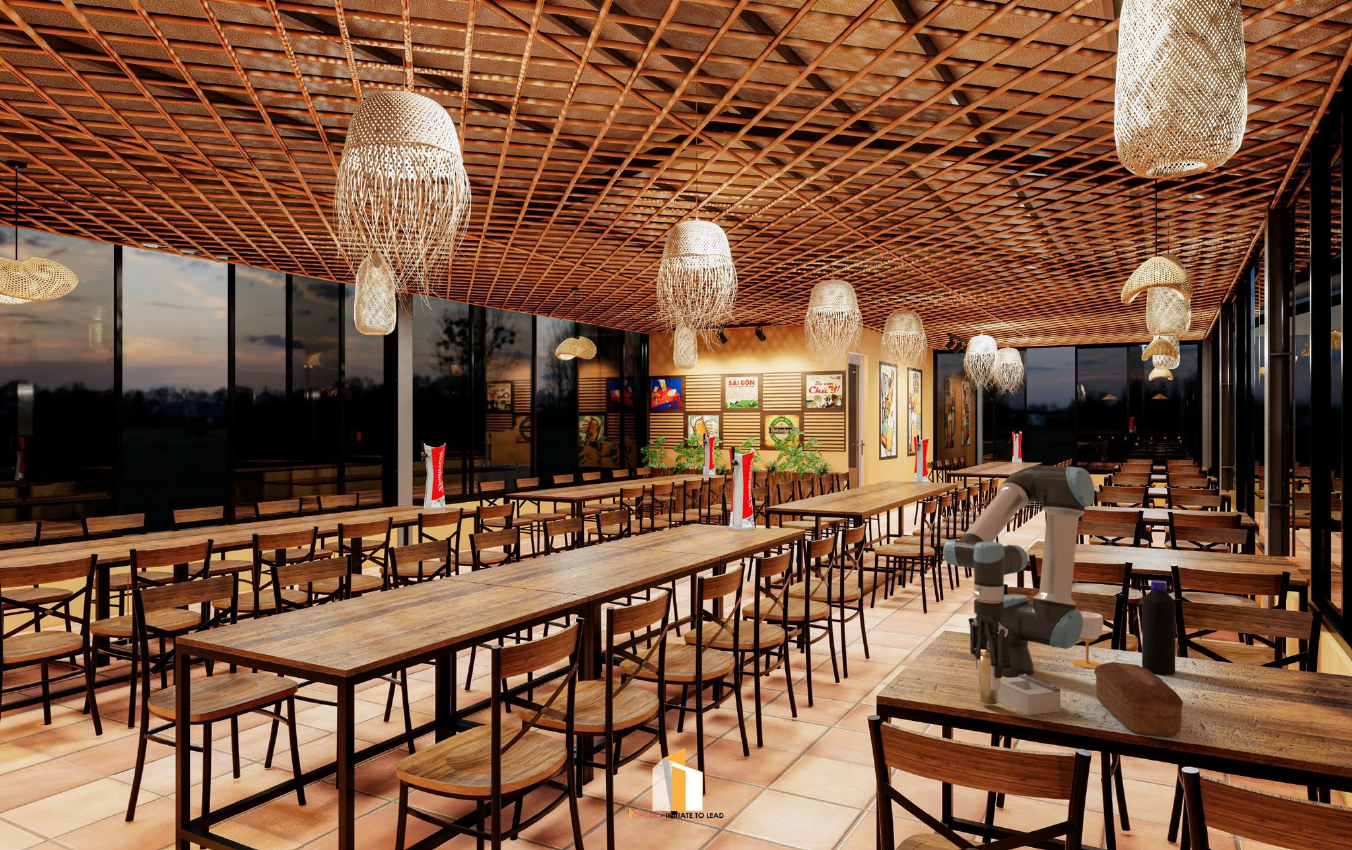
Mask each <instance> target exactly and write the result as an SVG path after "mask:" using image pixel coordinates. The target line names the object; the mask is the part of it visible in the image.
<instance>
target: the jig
mask: <svg viewBox="0 0 1352 850" xmlns="http://www.w3.org/2000/svg"><path fill="white" fill-rule="evenodd" d="M998 703H1000V704H1002V705H1004V706H1007V707H1008V706H1009V707H1008V708H1011V709H1012V710H1015V711H1017V710H1018V711H1017V712H1019V711H1020V712H1019V713H1021V712H1022V714H1023V713H1025V714H1026V716H1028V715H1029V716H1035V714H1036V715H1043V713H1044V714H1050V713H1057V712H1061V688H1059V687H1056V686H1055V685H1053V684H1049V683H1046V682H1045V681H1043V680H1040V679H1037V678H1035V677H1032V676H1028V675H1026V674H1022V675H1019V677H1006V678H1001V689H998ZM1041 713H1042V714H1041ZM1025 714H1024V715H1025ZM1032 714H1033V715H1032Z"/></svg>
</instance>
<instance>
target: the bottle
mask: <svg viewBox="0 0 1352 850" xmlns="http://www.w3.org/2000/svg"><path fill="white" fill-rule="evenodd" d="M1167 586H1168V585H1167V582H1166V581H1163V580H1151V581H1150V591H1149V592H1148V593H1147V594H1146V595H1144V596H1143V597H1142V600H1141V601H1142V606H1141V607H1142V609H1141V610H1142V612H1141V613H1142V614H1141V615H1142V617H1141V618H1142V619H1141V622H1142V625H1141V627H1142V628H1141V630H1142V631H1141V632H1142V633H1141V635H1142V636H1141V637H1142V640H1141V641H1142V642H1141V644H1142V645H1141V667H1143V668H1145V669H1147V670H1149V671H1150V672H1152V673H1153V674H1155V675H1156V676H1159V675H1160V676H1173V675H1175V674H1176V609H1177V607H1176V606H1177V605H1176V601H1175V599H1174V598H1173V597H1172V596H1171V595H1170V594H1169V593H1168V590H1167Z"/></svg>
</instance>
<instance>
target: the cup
mask: <svg viewBox="0 0 1352 850" xmlns="http://www.w3.org/2000/svg"><path fill="white" fill-rule="evenodd" d="M1079 612H1080V613H1081V614H1082V619H1083V627H1082V632H1081V635H1080V637H1079V640H1081V641H1083V642H1085V659H1073V660H1071V662H1070V663H1072V664H1073V665H1074V666H1076V667H1080V668H1082V669H1083V668H1084V669H1093V670H1095V668H1096V667H1097V666H1099V665H1101V664H1102V663H1100V662H1098V661H1094V660H1089V657H1090V651H1089V650H1090V648H1089V647H1090V643H1092V642H1095V641H1096V640H1098V639H1099V637H1100V636H1101V634H1102V631H1103V627H1104V626H1103V625H1104V617H1103V615H1101V614H1099V613H1096V612H1091V611H1079Z"/></svg>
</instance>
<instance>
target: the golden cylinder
mask: <svg viewBox="0 0 1352 850" xmlns="http://www.w3.org/2000/svg"><path fill="white" fill-rule="evenodd" d="M997 661H998V660H997ZM991 664H993V661H992V655H991V648H980V684H979V685H980V687H979V688H980V689H979V691H980V692H979V701H980V703H983V704H986V705H997V704H998V703H999V702H998V690H991Z"/></svg>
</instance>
